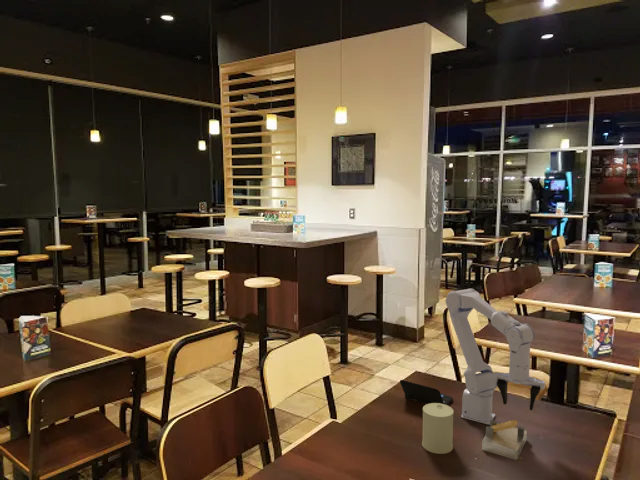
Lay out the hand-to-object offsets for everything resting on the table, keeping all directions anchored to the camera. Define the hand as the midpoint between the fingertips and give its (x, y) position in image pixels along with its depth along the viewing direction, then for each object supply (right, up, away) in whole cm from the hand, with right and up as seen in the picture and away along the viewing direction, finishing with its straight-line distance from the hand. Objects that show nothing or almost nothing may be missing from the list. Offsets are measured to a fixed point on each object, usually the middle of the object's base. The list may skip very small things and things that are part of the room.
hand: (518, 406), depth 149 cm
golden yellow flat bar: (-6, -6, -3) cm, 9 cm away
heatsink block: (-5, -11, -3) cm, 12 cm away
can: (-26, -11, -3) cm, 28 cm away
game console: (-23, -8, +27) cm, 36 cm away
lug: (-1, -8, -3) cm, 8 cm away
